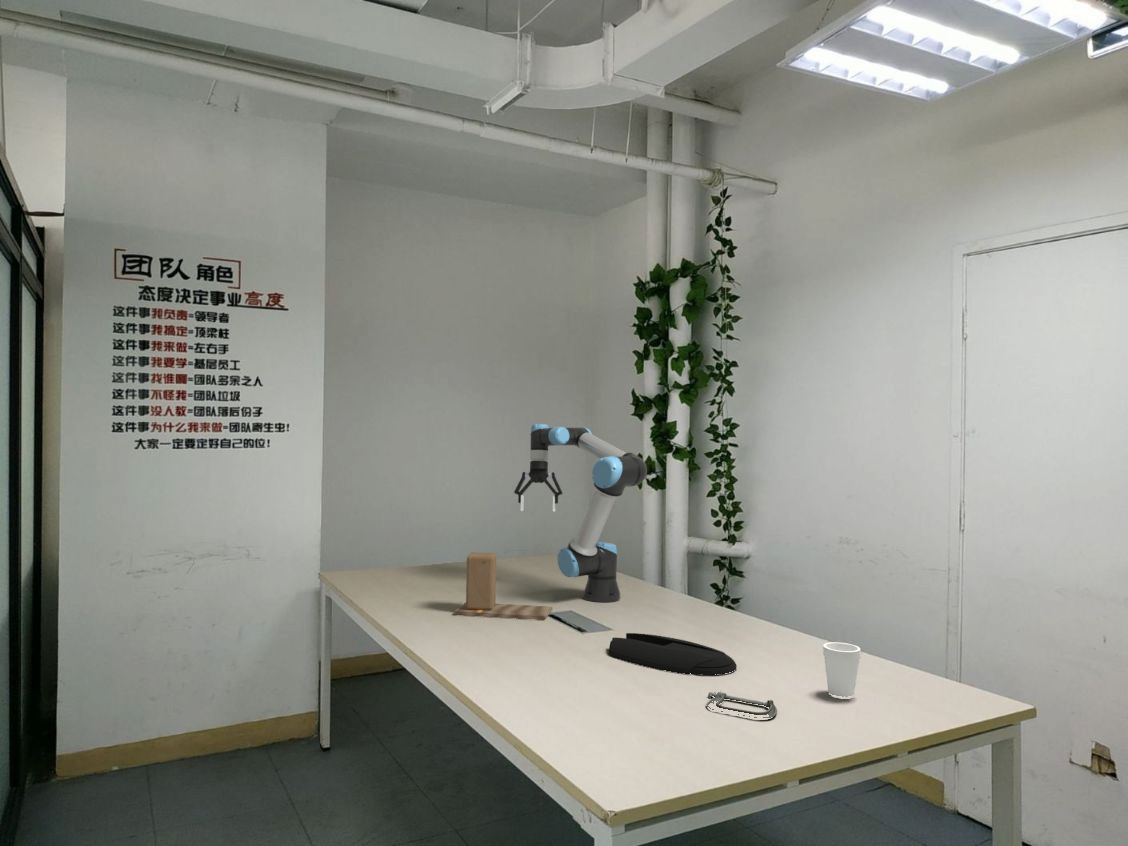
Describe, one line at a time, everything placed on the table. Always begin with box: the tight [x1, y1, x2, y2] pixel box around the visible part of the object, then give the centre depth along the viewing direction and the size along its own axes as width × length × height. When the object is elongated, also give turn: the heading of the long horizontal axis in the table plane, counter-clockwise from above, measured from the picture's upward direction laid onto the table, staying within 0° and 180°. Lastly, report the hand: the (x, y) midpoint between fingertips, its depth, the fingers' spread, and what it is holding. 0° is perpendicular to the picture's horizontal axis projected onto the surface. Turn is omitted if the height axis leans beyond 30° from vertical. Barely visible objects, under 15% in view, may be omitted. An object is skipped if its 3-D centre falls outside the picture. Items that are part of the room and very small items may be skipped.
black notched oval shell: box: [608, 632, 738, 676], centre depth 248 cm, size 25×41×5 cm, turn 51°
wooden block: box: [465, 551, 497, 610], centre depth 306 cm, size 10×10×20 cm
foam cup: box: [822, 641, 862, 697], centre depth 217 cm, size 10×9×13 cm
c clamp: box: [705, 691, 778, 718], centre depth 207 cm, size 20×17×3 cm
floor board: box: [453, 602, 554, 621], centre depth 304 cm, size 34×16×2 cm, turn 81°
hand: (537, 511), depth 340 cm, fingers open, 13 cm apart
